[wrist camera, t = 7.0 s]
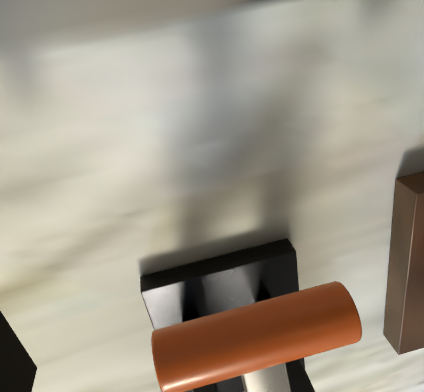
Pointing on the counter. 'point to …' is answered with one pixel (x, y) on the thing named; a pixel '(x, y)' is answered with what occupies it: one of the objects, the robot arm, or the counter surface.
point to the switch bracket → (225, 295)
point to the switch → (255, 340)
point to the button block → (406, 267)
